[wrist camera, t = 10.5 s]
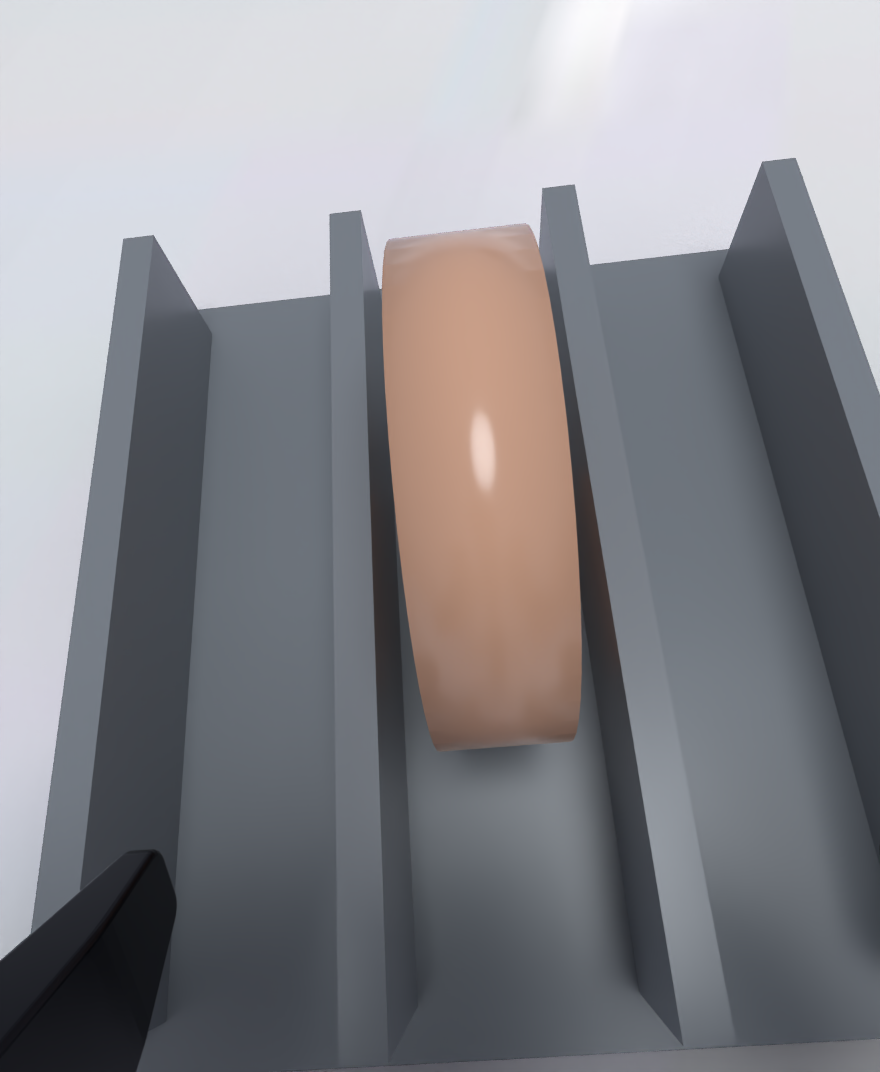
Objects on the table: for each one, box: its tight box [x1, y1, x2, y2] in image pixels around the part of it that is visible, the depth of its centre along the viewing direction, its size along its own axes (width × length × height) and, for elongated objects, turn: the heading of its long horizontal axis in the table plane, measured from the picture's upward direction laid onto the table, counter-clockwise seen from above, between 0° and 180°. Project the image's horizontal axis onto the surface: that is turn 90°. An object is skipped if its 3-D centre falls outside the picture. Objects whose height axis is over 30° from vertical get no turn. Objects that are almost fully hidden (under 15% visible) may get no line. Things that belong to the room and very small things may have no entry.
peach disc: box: [382, 223, 582, 752], centre depth 14 cm, size 9×3×10 cm, turn 4°
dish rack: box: [31, 158, 880, 1072], centre depth 17 cm, size 20×19×5 cm
